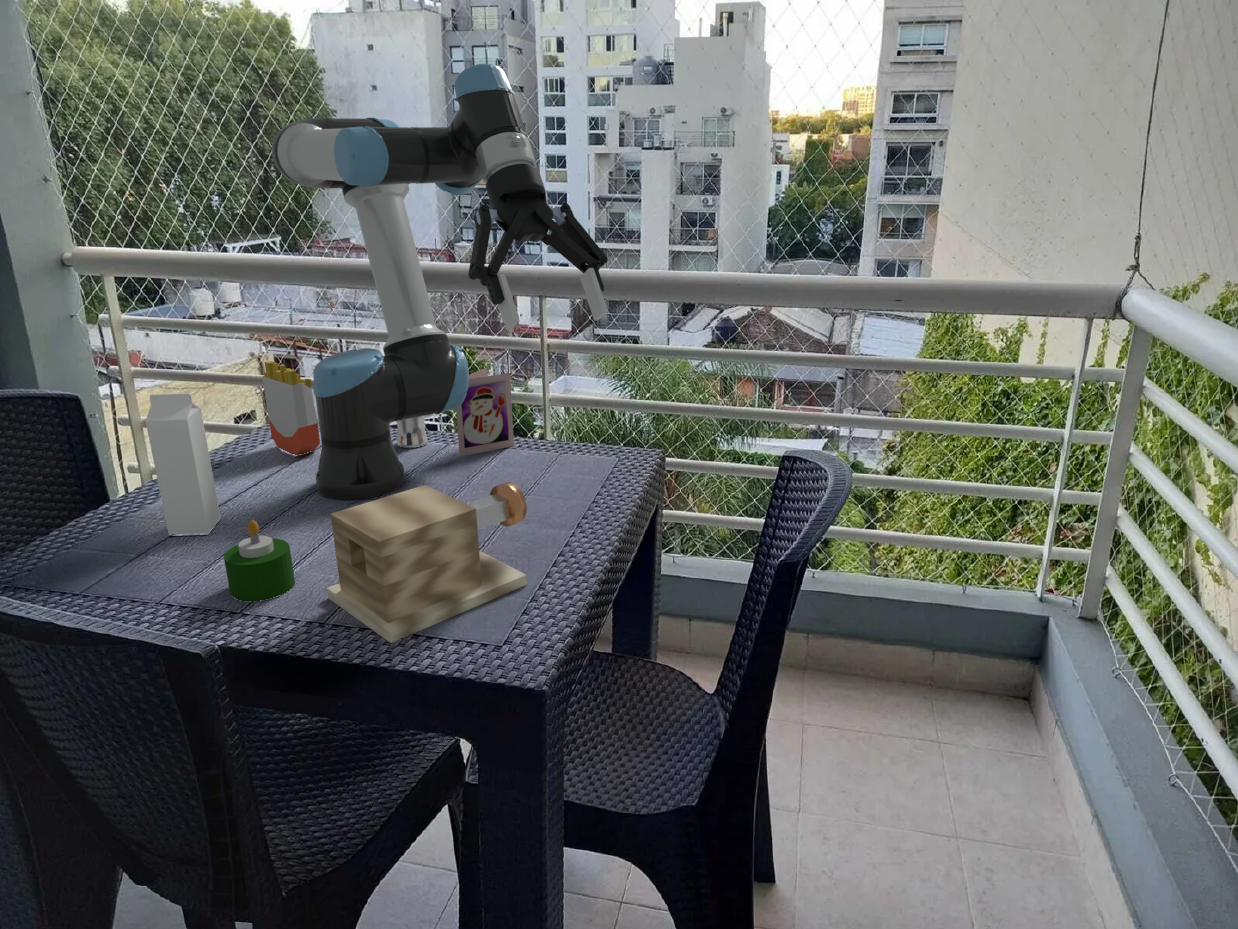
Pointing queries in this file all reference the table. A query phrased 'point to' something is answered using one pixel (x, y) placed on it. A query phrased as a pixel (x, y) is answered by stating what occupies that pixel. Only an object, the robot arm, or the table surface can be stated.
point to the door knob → (501, 506)
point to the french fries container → (290, 409)
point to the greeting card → (485, 414)
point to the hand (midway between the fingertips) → (558, 321)
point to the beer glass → (411, 432)
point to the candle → (259, 567)
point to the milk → (182, 464)
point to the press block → (413, 562)
